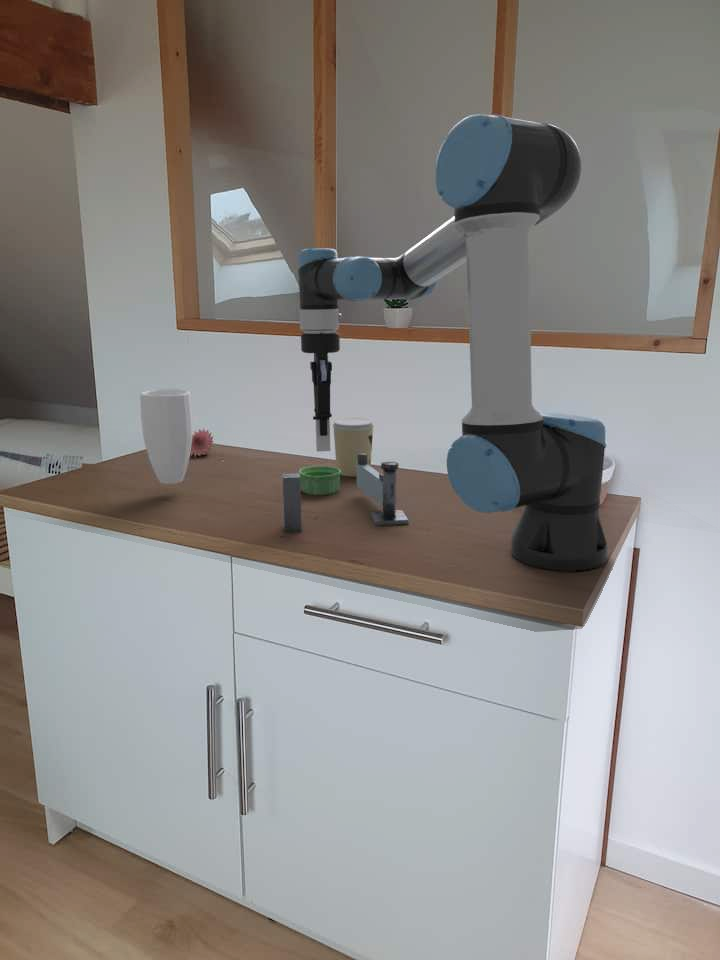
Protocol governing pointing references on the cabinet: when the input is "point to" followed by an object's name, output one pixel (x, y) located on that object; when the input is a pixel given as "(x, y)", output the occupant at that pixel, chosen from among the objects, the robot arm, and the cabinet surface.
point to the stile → (292, 502)
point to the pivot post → (389, 498)
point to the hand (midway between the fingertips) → (323, 450)
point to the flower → (201, 443)
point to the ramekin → (319, 480)
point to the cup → (167, 432)
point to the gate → (369, 479)
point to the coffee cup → (352, 443)
